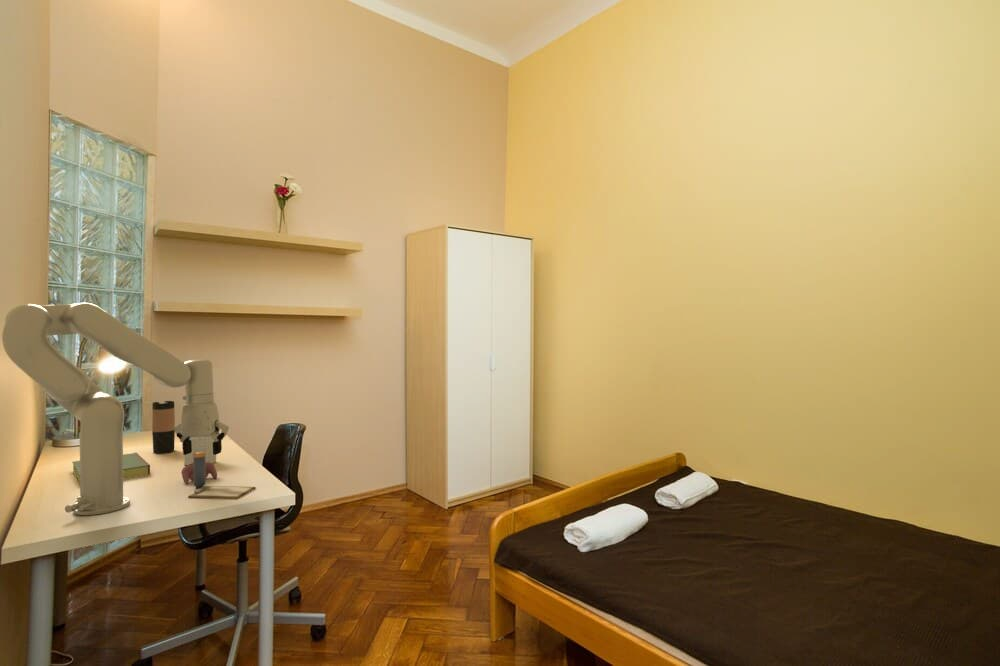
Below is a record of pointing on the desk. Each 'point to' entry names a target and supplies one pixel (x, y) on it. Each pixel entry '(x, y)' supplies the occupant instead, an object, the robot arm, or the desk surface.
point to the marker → (199, 469)
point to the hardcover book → (125, 466)
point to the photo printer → (201, 449)
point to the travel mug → (163, 427)
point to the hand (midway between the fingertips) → (202, 453)
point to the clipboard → (221, 492)
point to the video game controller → (189, 471)
